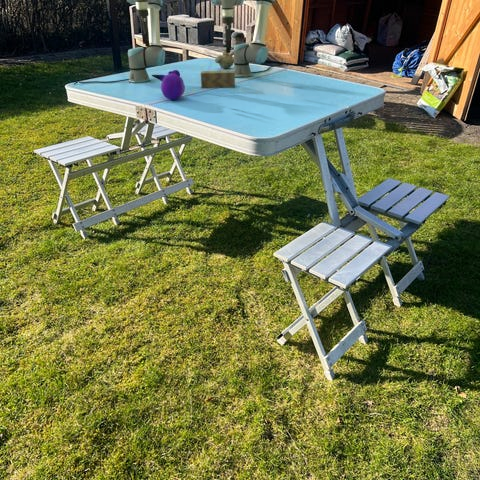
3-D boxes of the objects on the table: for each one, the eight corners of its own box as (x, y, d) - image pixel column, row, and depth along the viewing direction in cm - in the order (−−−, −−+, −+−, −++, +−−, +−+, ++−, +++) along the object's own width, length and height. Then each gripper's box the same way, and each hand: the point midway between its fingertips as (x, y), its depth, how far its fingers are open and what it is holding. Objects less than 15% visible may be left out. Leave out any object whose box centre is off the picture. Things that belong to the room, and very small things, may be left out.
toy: (175, 91, 304) (184, 105, 283) (149, 87, 296) (157, 101, 276) (179, 67, 296) (189, 80, 275) (153, 62, 288) (161, 75, 268)
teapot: (218, 70, 370) (218, 51, 363) (212, 68, 379) (211, 49, 371) (241, 68, 380) (240, 48, 372) (234, 66, 388) (233, 47, 381)
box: (201, 88, 314) (200, 73, 309) (202, 85, 321) (201, 71, 316) (234, 87, 313) (234, 72, 308) (235, 85, 321) (234, 70, 315)
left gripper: (150, 10, 278) (154, 47, 289) (145, 8, 299) (149, 42, 309) (138, 10, 276) (142, 47, 287) (134, 8, 297) (138, 43, 308)
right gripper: (232, 18, 284) (233, 53, 294) (234, 15, 305) (234, 48, 316) (221, 18, 284) (222, 54, 295) (223, 15, 305) (224, 48, 316)
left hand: (146, 45), depth 298 cm, fingers open, 13 cm apart
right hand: (228, 51), depth 305 cm, fingers open, 13 cm apart
